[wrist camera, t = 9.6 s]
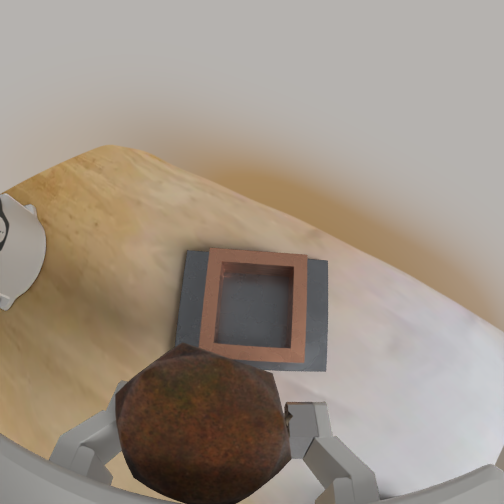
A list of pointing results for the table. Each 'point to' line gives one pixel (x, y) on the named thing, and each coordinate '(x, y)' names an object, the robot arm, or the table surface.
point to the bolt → (202, 427)
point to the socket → (256, 308)
